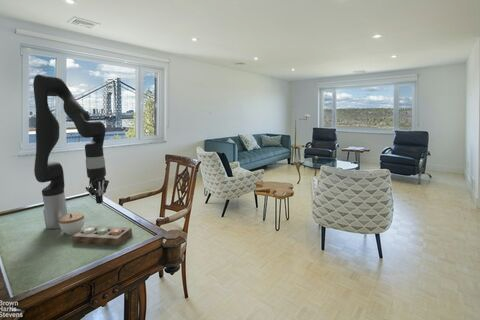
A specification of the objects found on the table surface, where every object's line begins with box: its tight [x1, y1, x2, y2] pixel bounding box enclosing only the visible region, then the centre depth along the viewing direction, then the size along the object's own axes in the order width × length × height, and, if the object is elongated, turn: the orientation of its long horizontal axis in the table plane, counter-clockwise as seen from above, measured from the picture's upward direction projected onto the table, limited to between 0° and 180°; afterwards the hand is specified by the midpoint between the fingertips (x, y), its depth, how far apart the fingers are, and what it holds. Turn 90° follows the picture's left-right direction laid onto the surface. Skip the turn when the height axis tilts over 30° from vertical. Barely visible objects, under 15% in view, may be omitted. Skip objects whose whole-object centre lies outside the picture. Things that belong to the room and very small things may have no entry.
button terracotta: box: [111, 229, 122, 235], centre depth 123 cm, size 4×4×2 cm
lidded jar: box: [58, 212, 85, 236], centre depth 132 cm, size 11×11×9 cm
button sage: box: [97, 228, 108, 235], centre depth 124 cm, size 4×4×2 cm
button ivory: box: [82, 227, 94, 234], centre depth 125 cm, size 4×4×2 cm
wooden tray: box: [71, 225, 133, 247], centre depth 124 cm, size 22×11×3 cm, turn 80°
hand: (99, 203), depth 124 cm, fingers closed
